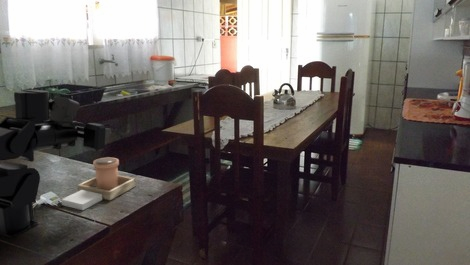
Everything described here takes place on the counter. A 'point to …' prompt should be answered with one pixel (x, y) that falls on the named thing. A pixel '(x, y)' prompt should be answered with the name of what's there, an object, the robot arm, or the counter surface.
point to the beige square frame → (109, 195)
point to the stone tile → (82, 199)
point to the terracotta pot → (106, 173)
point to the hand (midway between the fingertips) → (96, 127)
